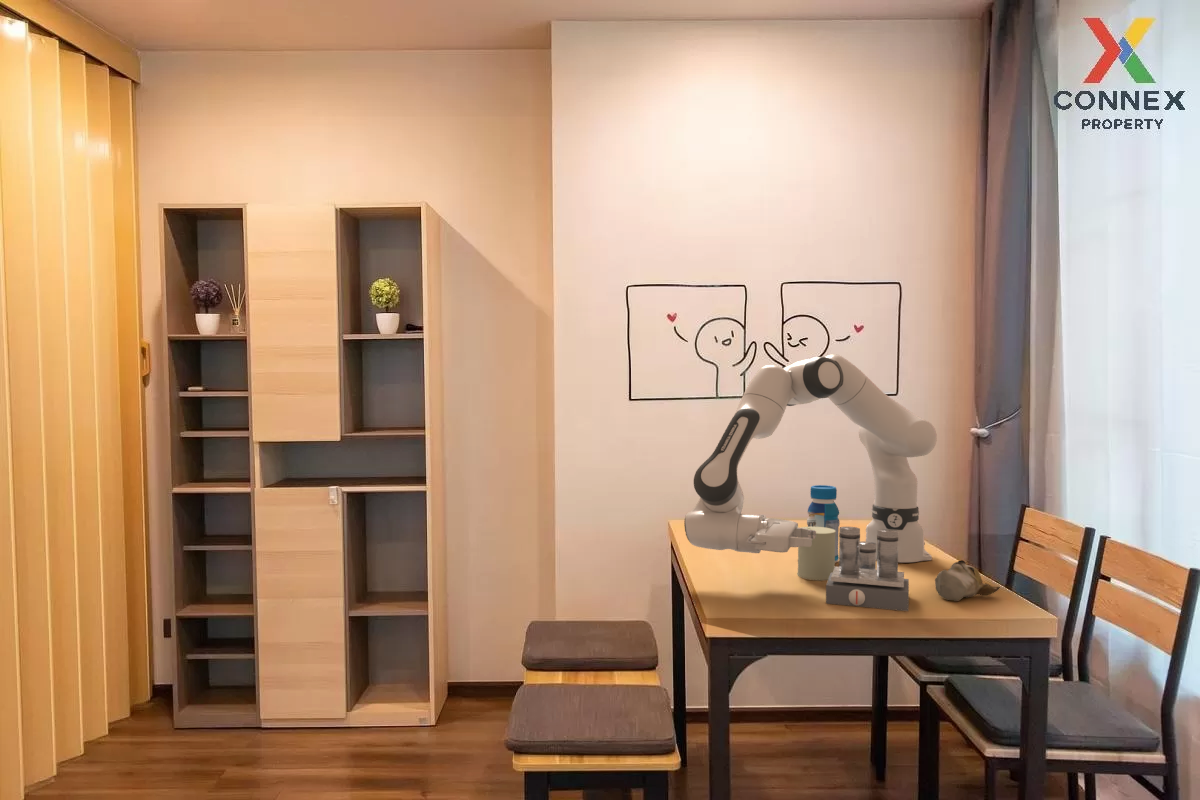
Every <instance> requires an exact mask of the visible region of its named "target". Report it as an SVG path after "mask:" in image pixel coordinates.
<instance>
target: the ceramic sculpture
mask: <svg viewBox="0 0 1200 800" xmlns="http://www.w3.org/2000/svg"><path fill="white" fill-rule="evenodd" d="M934 585H935V586H934V587H935V589H936V593H938V596H940V597H941V598H943V599H945V600H946V599H947V600H946V601H948V600H954V601H953V602H959V601H961V599H963V597H966V598H971V597H974V596H977V595H978V596H983V597H985V596H990V595H993V594H994V593H996V592H998V591H999V590H1000V588H1001V587H1000V586H995V585H994V586H992V585H991V584H988V583H984V582H983V580H982V575H981V573H980V572H979V570H978V569H977V568H976V567H974V566H972V565H969V564H967V563H966V562H965V560H962V559H961V560H958V561H956V562H954V563H952V565H950V568H949V569H948V570H947V569H943V570H941V571H939V573H938V574H937V576H936V578H934Z"/></svg>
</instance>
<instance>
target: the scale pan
mask: <svg viewBox="0 0 1200 800" xmlns="http://www.w3.org/2000/svg"><path fill="white" fill-rule="evenodd" d="M904 579H905V571H898V577H897V578H882V577H878V576H877V569H876V570H873V569H861V568H860V571H859V574H858V575H845V574H841V573H839V566H835V568H834V570H833V573H832V576H831V581H836V582H847V583H859V584H870V585H881V586H893V587H904Z"/></svg>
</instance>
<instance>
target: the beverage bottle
mask: <svg viewBox="0 0 1200 800" xmlns="http://www.w3.org/2000/svg"><path fill="white" fill-rule="evenodd" d="M837 491H838V490H837V487H836V486H833V485H827V484H826V485H825V484H820V485H819V484H818V485H817V484H816V485H811V486H810V499H811V500H812V501H811V503H809V506H808V508H807V514H808V517H807V519H806V525H807V527H826V528H831V529H834V530H835V531H836V533H835V564H836V563H839V529H840V524H841V523H840V519H839V514H840V510H839V507H838V506H837V505H838V504H836V502H835V501H836V500H837V495H838V494H837Z"/></svg>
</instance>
